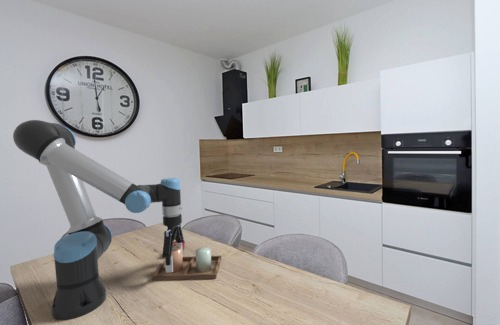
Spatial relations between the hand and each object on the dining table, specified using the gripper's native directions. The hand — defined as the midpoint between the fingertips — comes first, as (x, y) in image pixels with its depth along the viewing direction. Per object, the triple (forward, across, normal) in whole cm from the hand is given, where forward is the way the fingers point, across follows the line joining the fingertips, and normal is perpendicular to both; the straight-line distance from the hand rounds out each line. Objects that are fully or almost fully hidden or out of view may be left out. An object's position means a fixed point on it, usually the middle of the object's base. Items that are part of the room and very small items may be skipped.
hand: (174, 264), depth 103 cm
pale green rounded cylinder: (+2, 0, -12) cm, 13 cm away
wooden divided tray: (+3, 0, -6) cm, 7 cm away
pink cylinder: (+2, 0, 0) cm, 2 cm away
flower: (+3, +17, +5) cm, 18 cm away
